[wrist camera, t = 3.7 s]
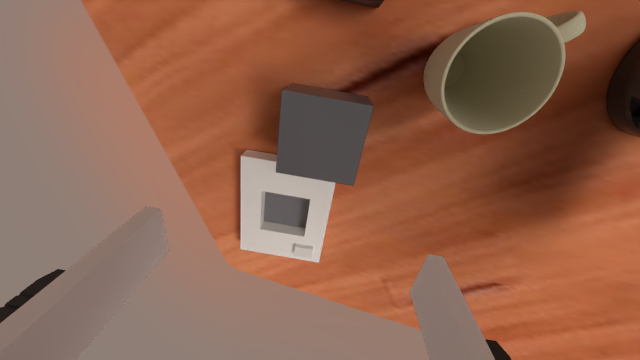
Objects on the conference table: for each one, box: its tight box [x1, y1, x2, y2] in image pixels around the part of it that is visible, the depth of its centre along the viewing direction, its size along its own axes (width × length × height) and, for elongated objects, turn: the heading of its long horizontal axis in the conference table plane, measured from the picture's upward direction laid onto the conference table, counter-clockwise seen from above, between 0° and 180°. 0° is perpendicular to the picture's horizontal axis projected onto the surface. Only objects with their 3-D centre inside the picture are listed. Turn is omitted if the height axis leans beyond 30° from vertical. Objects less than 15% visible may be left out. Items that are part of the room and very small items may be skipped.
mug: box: [423, 10, 586, 134], centre depth 24 cm, size 11×10×12 cm
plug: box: [276, 83, 374, 186], centre depth 31 cm, size 10×10×8 cm
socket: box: [241, 150, 335, 262], centre depth 40 cm, size 18×14×3 cm
